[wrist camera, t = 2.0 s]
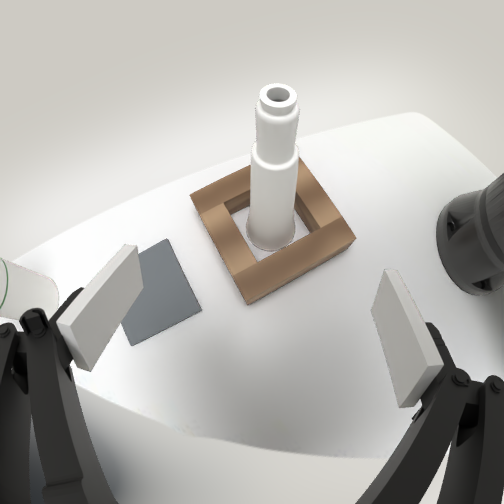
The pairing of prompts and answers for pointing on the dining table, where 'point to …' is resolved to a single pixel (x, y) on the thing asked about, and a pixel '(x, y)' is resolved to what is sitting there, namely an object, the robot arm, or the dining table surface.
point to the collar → (285, 260)
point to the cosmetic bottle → (274, 169)
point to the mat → (159, 295)
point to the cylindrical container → (25, 291)
